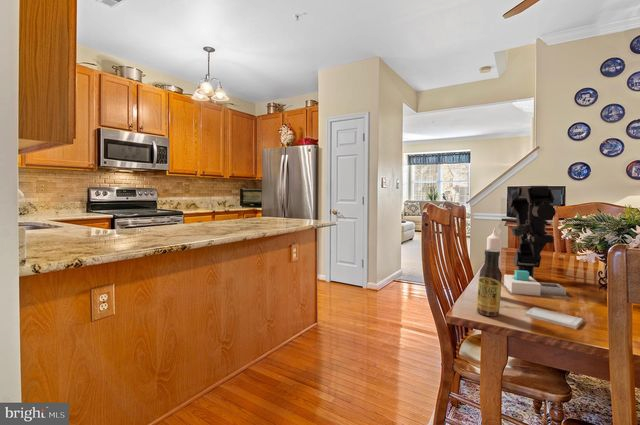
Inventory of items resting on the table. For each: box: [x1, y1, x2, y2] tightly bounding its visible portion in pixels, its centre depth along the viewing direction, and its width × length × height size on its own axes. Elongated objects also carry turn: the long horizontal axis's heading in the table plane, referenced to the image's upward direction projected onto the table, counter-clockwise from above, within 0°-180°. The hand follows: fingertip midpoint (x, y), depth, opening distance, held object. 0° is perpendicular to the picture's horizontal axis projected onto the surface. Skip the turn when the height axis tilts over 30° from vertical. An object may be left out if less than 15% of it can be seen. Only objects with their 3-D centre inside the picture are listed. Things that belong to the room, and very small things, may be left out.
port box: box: [503, 274, 541, 296], centre depth 121 cm, size 12×9×4 cm
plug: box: [513, 269, 529, 281], centre depth 121 cm, size 3×4×7 cm
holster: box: [537, 281, 567, 296], centre depth 118 cm, size 7×8×2 cm
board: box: [501, 282, 573, 301], centre depth 120 cm, size 16×18×1 cm
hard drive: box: [524, 306, 584, 330], centre depth 96 cm, size 2×8×12 cm
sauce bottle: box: [476, 248, 503, 317], centre depth 99 cm, size 7×6×20 cm
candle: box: [486, 228, 503, 272], centre depth 112 cm, size 7×7×25 cm
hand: (535, 257), depth 126 cm, fingers closed
